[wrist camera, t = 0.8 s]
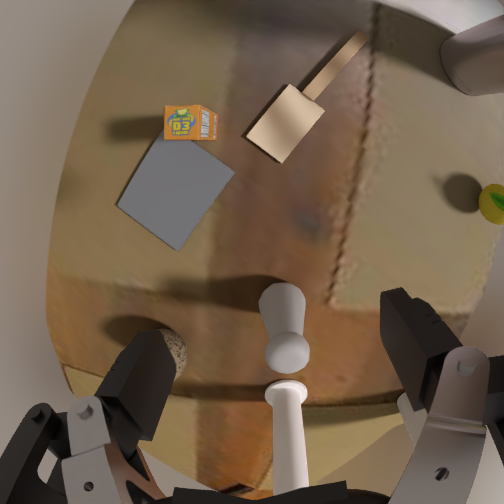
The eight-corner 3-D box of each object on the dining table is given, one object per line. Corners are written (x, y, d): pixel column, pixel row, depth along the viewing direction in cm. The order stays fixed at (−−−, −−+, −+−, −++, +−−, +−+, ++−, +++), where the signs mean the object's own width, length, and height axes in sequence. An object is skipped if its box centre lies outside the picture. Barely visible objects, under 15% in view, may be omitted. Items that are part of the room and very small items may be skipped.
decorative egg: (189, 319, 39) (170, 365, 30) (196, 357, 41) (182, 404, 32) (143, 316, 39) (116, 359, 30) (153, 353, 42) (132, 397, 32)
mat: (168, 124, 30) (166, 124, 30) (235, 172, 32) (235, 172, 31) (119, 204, 34) (117, 205, 33) (179, 250, 35) (178, 251, 35)
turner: (346, 23, 25) (348, 21, 24) (378, 49, 26) (380, 46, 25) (246, 136, 31) (245, 136, 30) (281, 163, 31) (282, 163, 30)
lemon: (497, 209, 31) (540, 227, 22) (475, 227, 32) (518, 249, 23) (487, 170, 29) (533, 181, 20) (464, 186, 31) (511, 201, 21)
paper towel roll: (412, 382, 43) (453, 471, 23) (428, 389, 44) (467, 470, 24) (386, 406, 45) (416, 495, 25) (403, 412, 46) (433, 492, 26)
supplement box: (189, 142, 31) (159, 140, 22) (191, 114, 30) (162, 101, 20) (217, 143, 31) (198, 140, 21) (219, 114, 30) (201, 99, 20)
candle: (287, 372, 42) (297, 521, 18) (315, 391, 43) (334, 525, 20) (256, 393, 44) (249, 530, 20) (284, 410, 45) (288, 536, 22)
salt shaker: (250, 300, 37) (244, 367, 25) (275, 267, 36) (280, 327, 24) (286, 320, 38) (293, 390, 26) (312, 290, 37) (331, 354, 24)
